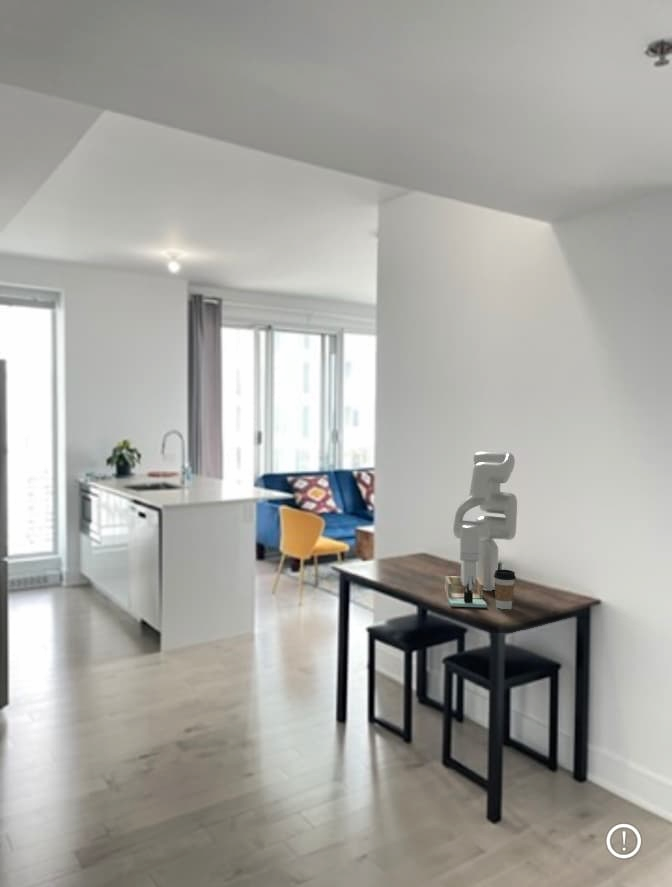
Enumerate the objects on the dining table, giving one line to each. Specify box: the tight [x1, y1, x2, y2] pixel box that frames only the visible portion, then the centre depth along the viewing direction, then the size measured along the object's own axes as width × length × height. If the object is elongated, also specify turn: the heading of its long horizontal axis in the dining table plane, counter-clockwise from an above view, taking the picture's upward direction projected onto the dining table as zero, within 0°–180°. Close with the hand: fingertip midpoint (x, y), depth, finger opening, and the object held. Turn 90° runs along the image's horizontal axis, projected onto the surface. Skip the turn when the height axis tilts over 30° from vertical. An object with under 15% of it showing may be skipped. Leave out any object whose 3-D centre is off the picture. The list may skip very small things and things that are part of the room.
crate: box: [444, 575, 484, 600], centre depth 281 cm, size 14×12×7 cm
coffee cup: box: [494, 569, 516, 609], centre depth 266 cm, size 8×8×15 cm
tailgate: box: [447, 598, 488, 608], centre depth 270 cm, size 14×1×9 cm
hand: (468, 601), depth 268 cm, fingers closed
